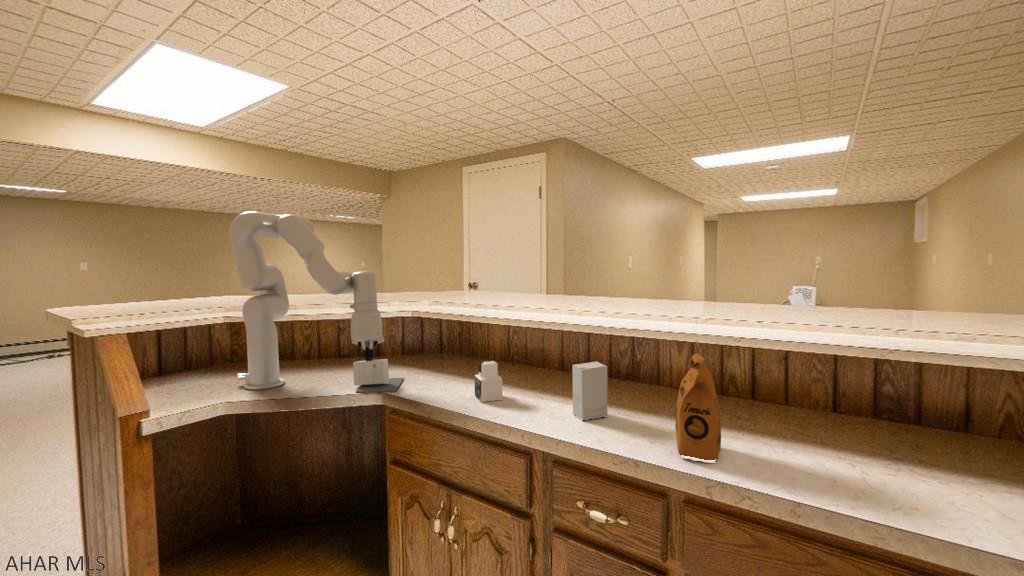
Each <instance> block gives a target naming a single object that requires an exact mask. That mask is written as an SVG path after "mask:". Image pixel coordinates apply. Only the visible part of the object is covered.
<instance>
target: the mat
mask: <svg viewBox="0 0 1024 576" xmlns="http://www.w3.org/2000/svg"><path fill="white" fill-rule="evenodd" d="M404 380H405V378H404V377H389V381H388V382H386V383H384V384H369V385H359V387H358V389H356V391H355V393H356V394H362V393H363V394H365V393H366V394H369V393H375V394H376V393H397V391H398V390H399V388H400V386H401V385H400V384H402V383H403V381H404ZM398 387H399V388H398Z"/></svg>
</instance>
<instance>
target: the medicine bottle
mask: <svg viewBox="0 0 1024 576" xmlns="http://www.w3.org/2000/svg"><path fill="white" fill-rule="evenodd" d="M498 365H499V363H498V362H497V360H494V359H483V360H480V361H479V362H478V374H475V375H474V397H475V398H476V399H477V400H478V401H479V403H487V402H486V401H490V402H496V401H495V400H499V401H503V378H502V377H501V376H500V375H499V373H498V372H499V369H498V368H499V366H498Z"/></svg>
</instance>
